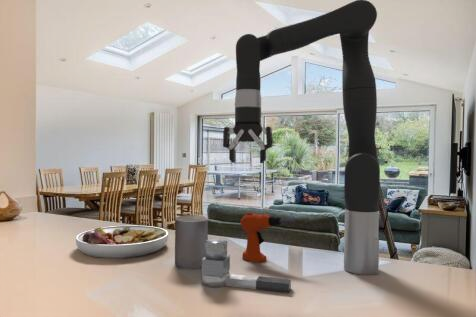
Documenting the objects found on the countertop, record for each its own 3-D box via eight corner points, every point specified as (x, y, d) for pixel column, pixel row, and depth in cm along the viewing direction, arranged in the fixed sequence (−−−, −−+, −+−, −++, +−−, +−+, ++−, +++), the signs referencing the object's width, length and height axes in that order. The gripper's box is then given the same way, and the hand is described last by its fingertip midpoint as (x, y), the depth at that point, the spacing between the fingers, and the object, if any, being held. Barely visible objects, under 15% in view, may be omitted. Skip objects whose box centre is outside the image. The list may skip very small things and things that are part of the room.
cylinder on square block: (229, 270, 102) (229, 239, 101) (223, 277, 96) (223, 245, 96) (209, 268, 103) (209, 238, 103) (201, 275, 98) (202, 243, 98)
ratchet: (291, 285, 98) (292, 262, 98) (287, 295, 91) (287, 270, 91) (207, 276, 104) (207, 254, 104) (197, 285, 97) (197, 261, 97)
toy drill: (297, 264, 111) (291, 211, 112) (239, 262, 120) (234, 213, 121) (303, 260, 115) (297, 209, 116) (247, 258, 125) (242, 211, 125)
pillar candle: (174, 259, 119) (174, 211, 119) (205, 258, 121) (206, 210, 121) (175, 270, 110) (175, 217, 109) (210, 268, 112) (210, 216, 111)
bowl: (120, 235, 153) (120, 215, 153) (185, 244, 140) (185, 222, 140) (55, 253, 126) (55, 229, 126) (127, 266, 113) (127, 239, 113)
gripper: (274, 107, 114) (274, 162, 115) (228, 108, 118) (227, 161, 119) (269, 104, 107) (269, 163, 108) (220, 105, 111) (220, 162, 112)
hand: (247, 162), depth 113 cm, fingers open, 8 cm apart
